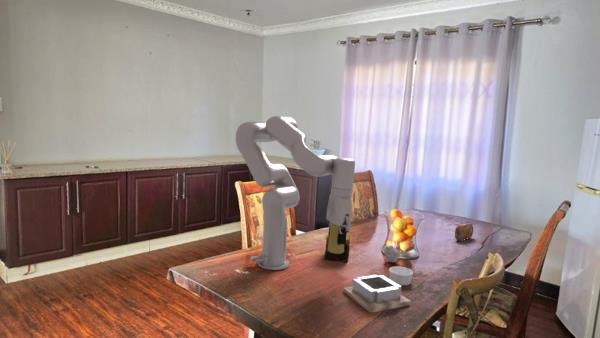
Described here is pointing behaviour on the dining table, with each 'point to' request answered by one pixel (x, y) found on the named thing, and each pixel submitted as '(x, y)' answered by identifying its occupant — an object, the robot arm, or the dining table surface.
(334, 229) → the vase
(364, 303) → the stand board
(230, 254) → the dining table surface
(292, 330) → the dining table surface
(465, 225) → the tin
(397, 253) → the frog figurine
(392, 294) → the collar
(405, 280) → the ramekin
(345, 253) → the dark olive cube holder
